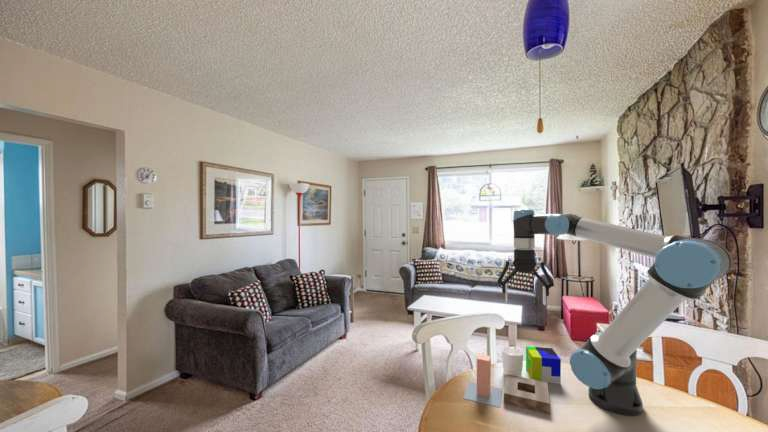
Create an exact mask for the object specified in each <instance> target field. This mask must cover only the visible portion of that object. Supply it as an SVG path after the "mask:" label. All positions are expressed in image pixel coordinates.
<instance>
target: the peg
mask: <svg viewBox="0 0 768 432" xmlns="http://www.w3.org/2000/svg"><path fill="white" fill-rule="evenodd" d="M491 358H492V357H491V356H490V355H486V354H481V353H478V355H477V358H476V383H477V395H478V396H483V397H487V398H489V396H490V386H491Z"/></svg>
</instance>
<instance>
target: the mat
mask: <svg viewBox="0 0 768 432" xmlns="http://www.w3.org/2000/svg"><path fill="white" fill-rule="evenodd" d="M502 394H503V388H500V387H495V386H491V385H490V396H489V398H487V397H483V396H478V395H477V382H473V381H468V384H467V387H466V390H465V392H464V394H463V399H464V400H468V401H472V402H475V403H480V404H484V405H488V406H492V407H497V408H501V403H502Z"/></svg>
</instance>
